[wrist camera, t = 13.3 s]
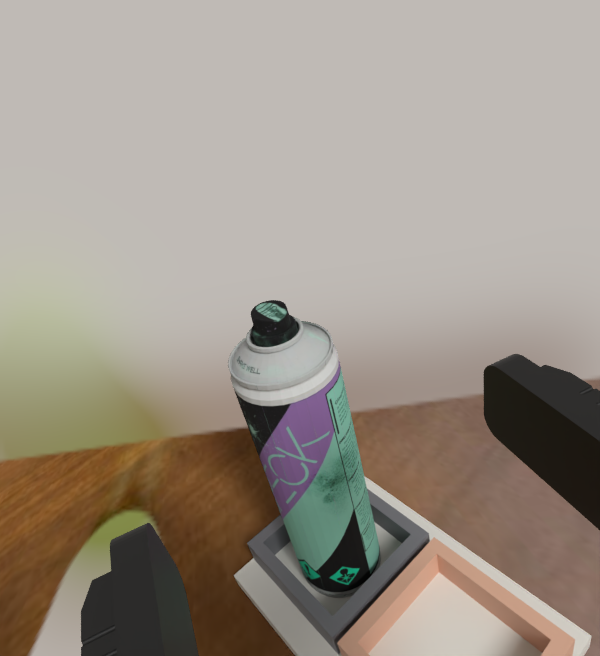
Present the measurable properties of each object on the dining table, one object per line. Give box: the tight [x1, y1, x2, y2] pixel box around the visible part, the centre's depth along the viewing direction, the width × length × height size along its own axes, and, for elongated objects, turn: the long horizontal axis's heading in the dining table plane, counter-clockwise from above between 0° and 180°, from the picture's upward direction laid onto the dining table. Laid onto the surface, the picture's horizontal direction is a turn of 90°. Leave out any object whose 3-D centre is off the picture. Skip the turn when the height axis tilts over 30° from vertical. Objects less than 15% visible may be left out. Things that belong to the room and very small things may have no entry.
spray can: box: [228, 300, 381, 598], centre depth 28 cm, size 6×6×20 cm
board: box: [234, 476, 591, 656], centre depth 30 cm, size 12×18×3 cm, turn 40°
